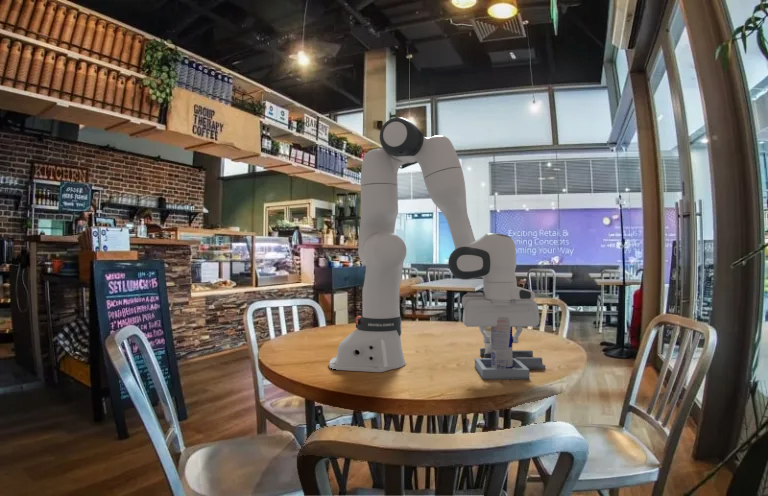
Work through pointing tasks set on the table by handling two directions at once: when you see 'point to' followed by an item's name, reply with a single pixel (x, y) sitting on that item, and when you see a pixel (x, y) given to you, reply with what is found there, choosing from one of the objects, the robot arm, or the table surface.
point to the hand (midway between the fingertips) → (500, 342)
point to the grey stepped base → (528, 359)
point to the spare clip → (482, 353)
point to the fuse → (488, 345)
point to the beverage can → (501, 344)
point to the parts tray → (501, 370)
